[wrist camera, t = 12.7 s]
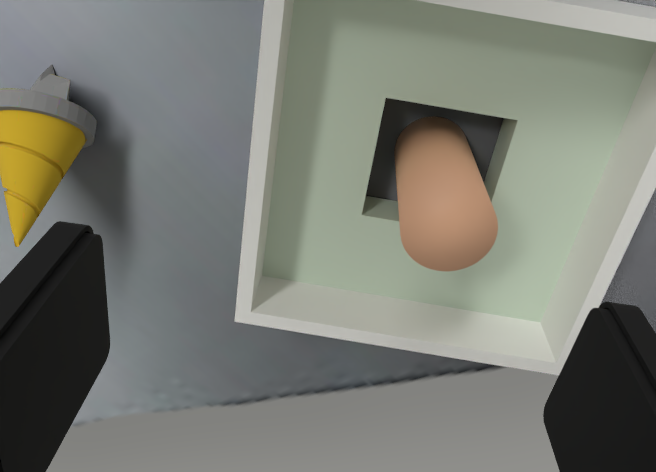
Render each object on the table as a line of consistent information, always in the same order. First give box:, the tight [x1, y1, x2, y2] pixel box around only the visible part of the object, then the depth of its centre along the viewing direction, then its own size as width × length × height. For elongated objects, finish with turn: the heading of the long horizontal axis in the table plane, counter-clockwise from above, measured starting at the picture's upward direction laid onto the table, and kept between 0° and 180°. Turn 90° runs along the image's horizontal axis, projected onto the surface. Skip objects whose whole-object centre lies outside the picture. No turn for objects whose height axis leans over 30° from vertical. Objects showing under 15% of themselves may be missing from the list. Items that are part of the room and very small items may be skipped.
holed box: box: [235, 0, 656, 376], centre depth 30 cm, size 18×18×6 cm
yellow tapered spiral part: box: [0, 65, 97, 247], centre depth 30 cm, size 5×5×10 cm
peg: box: [394, 116, 498, 271], centre depth 28 cm, size 4×4×9 cm
